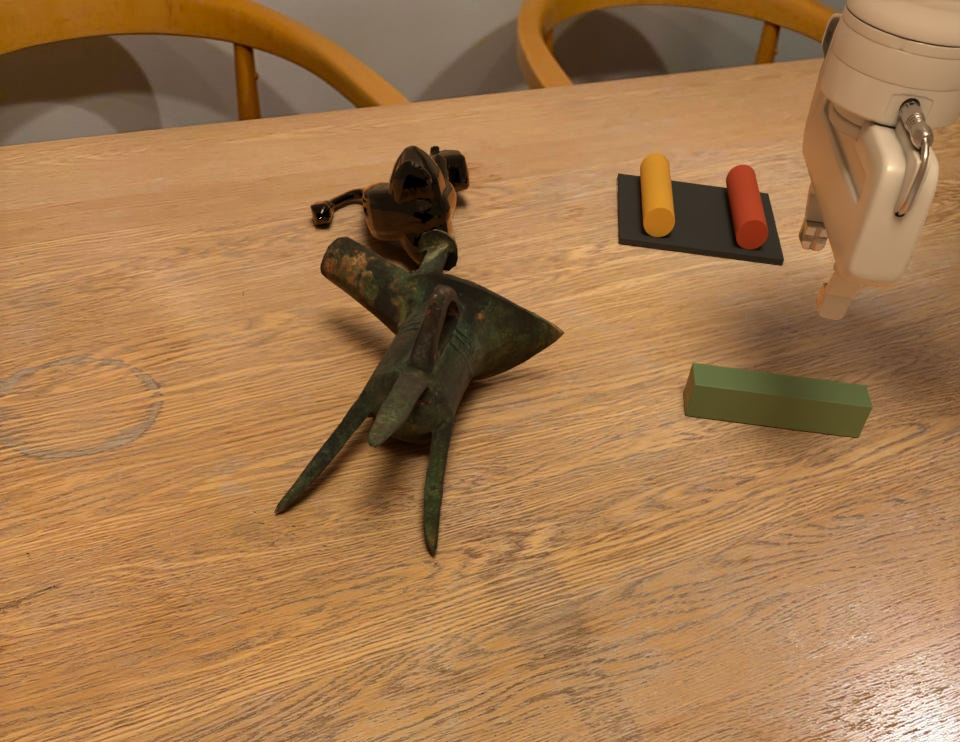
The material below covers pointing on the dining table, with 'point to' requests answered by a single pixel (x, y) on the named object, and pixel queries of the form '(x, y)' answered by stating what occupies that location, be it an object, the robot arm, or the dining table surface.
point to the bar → (776, 400)
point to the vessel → (424, 353)
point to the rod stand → (697, 214)
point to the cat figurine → (408, 197)
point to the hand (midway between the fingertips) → (818, 278)
